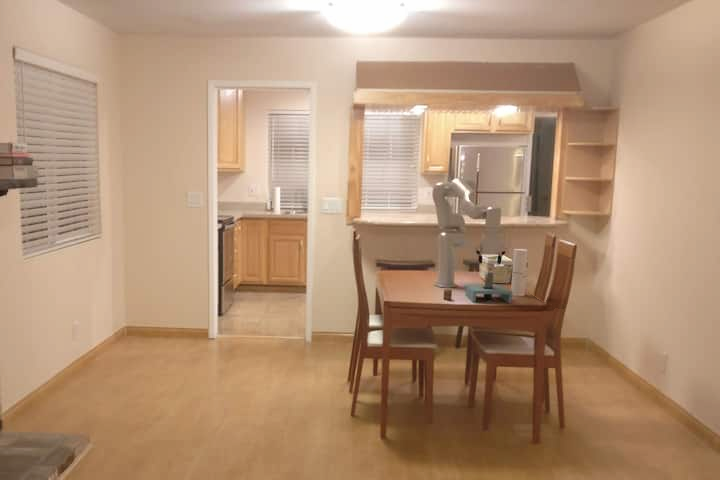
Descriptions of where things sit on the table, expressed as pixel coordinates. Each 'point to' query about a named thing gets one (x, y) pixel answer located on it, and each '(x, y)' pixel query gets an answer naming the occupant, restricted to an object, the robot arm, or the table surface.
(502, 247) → the robot arm
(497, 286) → the bridge
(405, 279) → the table surface
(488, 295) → the long pin
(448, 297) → the short pin
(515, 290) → the cylindrical container
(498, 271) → the storage basket
